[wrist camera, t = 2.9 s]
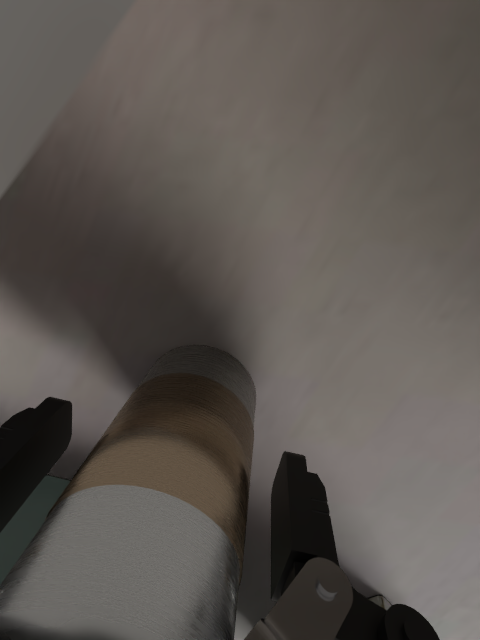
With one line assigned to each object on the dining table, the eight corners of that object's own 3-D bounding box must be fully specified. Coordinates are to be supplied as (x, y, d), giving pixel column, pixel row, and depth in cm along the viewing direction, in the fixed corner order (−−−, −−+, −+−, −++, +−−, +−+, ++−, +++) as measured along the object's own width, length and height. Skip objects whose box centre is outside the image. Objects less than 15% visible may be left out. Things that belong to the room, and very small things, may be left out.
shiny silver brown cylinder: (268, 359, 15) (257, 656, 5) (244, 450, 17) (204, 783, 7) (151, 332, 15) (-63, 576, 5) (141, 426, 17) (-28, 724, 7)
